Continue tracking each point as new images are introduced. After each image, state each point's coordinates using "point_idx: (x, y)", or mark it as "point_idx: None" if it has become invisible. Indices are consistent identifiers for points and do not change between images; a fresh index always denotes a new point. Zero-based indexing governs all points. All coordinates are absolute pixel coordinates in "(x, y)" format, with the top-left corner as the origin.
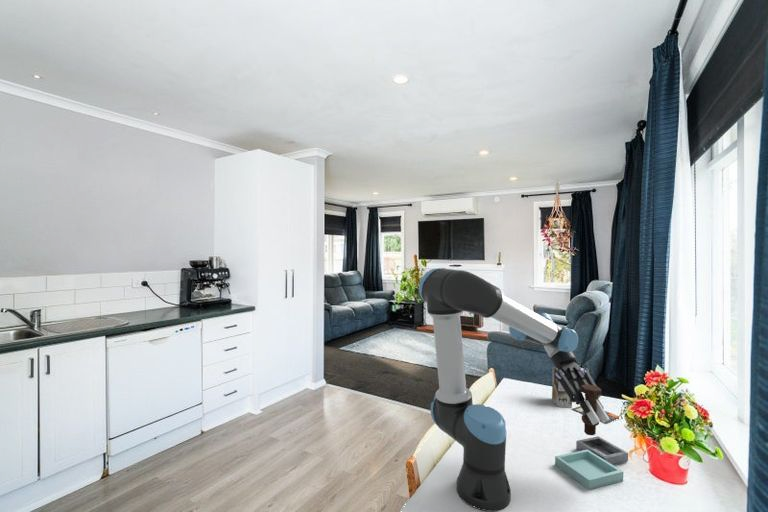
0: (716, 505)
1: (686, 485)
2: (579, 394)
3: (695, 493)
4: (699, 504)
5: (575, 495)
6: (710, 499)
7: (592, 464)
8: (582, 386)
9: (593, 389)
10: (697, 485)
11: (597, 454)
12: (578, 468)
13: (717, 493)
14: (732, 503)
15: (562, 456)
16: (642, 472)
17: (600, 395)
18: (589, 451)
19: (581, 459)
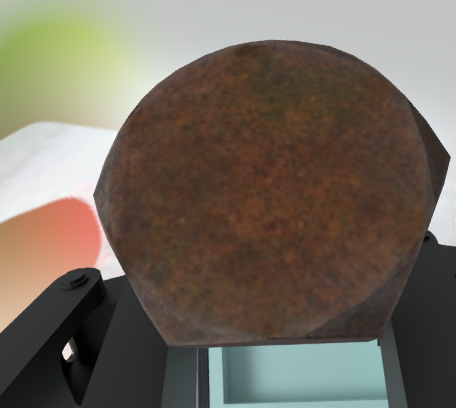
0: (82, 126)
1: (59, 196)
2: (450, 274)
3: (76, 166)
4: (115, 134)
5: (447, 222)
6: (69, 143)
7: (248, 352)
8: (422, 240)
9: (300, 74)
10: (33, 190)
11: (198, 370)
12: (329, 343)
13: (27, 158)
14: (40, 126)
15: (381, 403)
16: (110, 273)
17: (86, 268)
18: (215, 400)
19: (265, 397)
